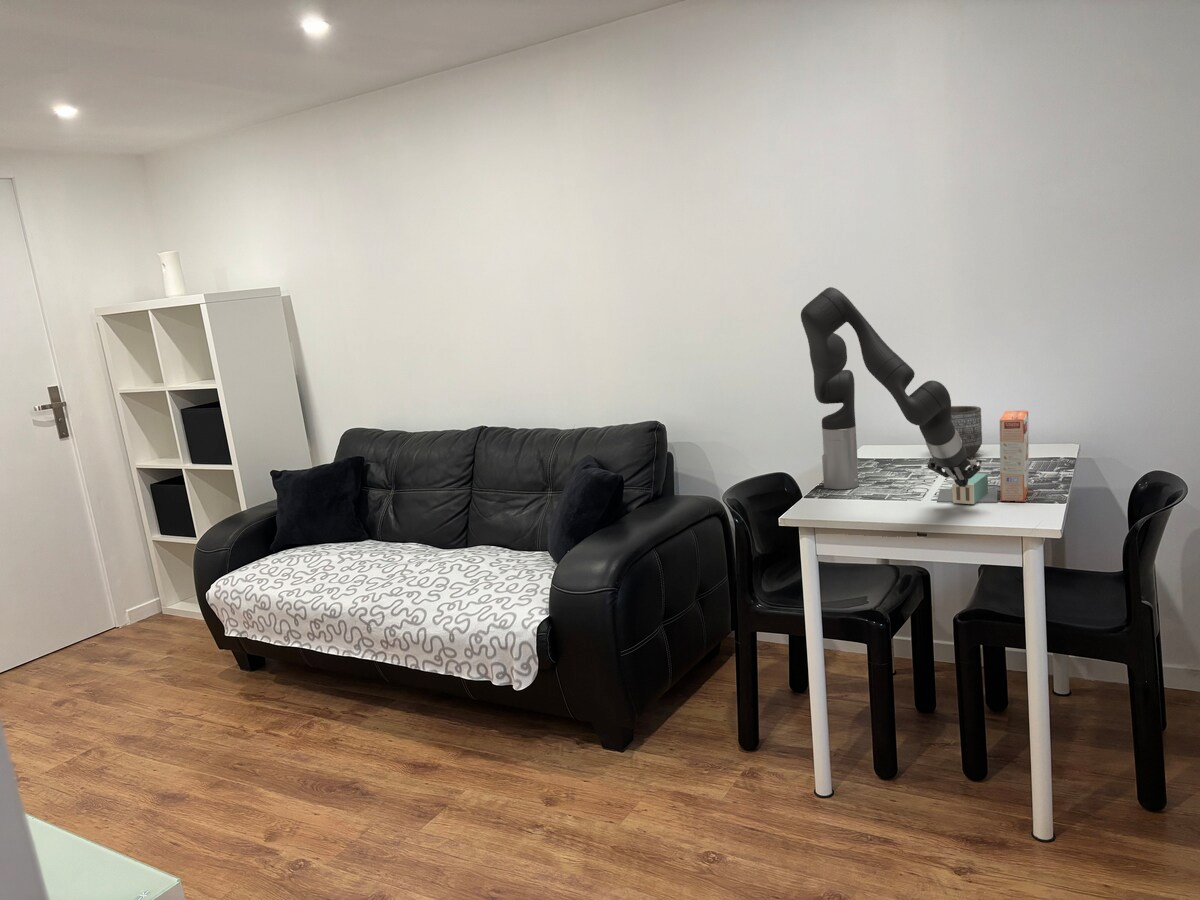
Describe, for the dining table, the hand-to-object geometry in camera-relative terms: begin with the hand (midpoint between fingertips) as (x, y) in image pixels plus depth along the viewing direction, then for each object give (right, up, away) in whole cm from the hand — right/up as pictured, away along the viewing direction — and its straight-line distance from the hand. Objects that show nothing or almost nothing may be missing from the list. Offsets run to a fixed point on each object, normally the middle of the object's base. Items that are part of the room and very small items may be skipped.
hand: (963, 483), depth 216 cm
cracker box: (+15, -3, +5) cm, 16 cm away
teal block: (0, -3, 0) cm, 3 cm away
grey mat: (+5, -4, +8) cm, 10 cm away
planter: (+21, +6, +55) cm, 60 cm away
